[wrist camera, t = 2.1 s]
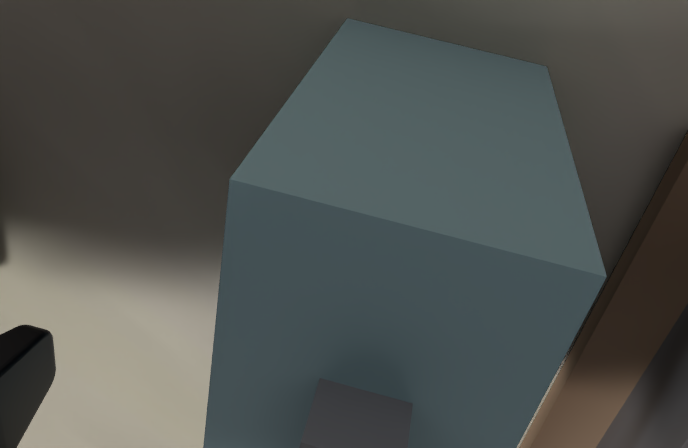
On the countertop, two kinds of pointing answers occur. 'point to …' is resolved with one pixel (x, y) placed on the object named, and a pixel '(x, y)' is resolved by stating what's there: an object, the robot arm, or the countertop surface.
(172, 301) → the countertop surface
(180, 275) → the countertop surface
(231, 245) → the cabinet block
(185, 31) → the countertop surface
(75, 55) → the countertop surface
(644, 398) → the socket board
